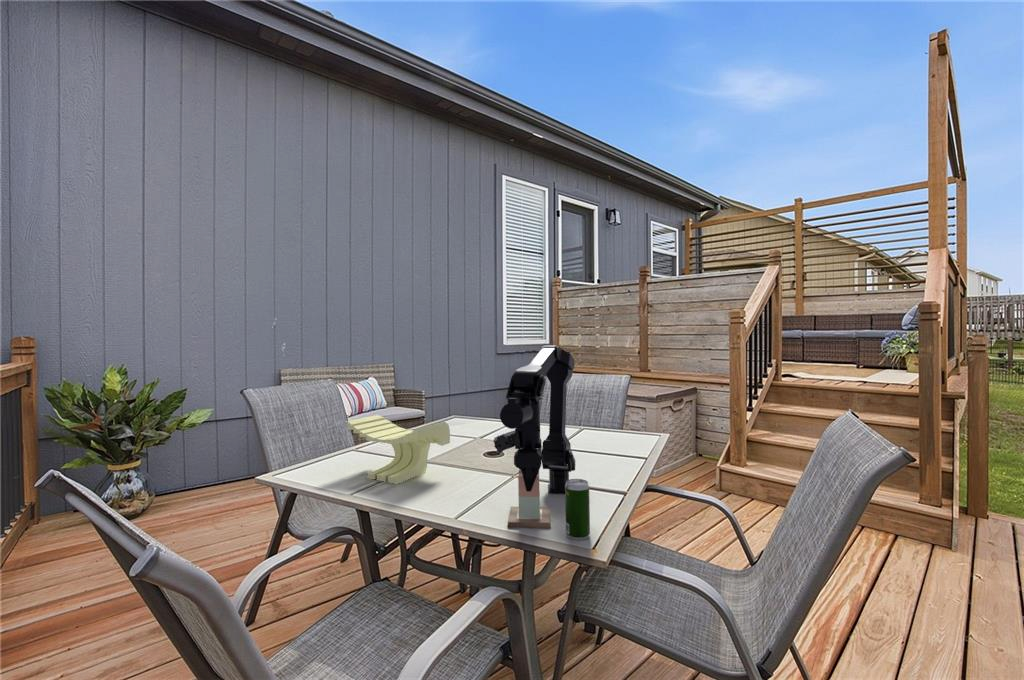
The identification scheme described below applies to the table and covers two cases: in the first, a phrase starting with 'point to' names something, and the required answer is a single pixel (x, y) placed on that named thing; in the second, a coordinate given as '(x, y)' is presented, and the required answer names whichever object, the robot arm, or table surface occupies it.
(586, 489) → the beer can
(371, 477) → the slatted curved stool
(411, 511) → the table surface
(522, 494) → the dusty pink cube
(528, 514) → the brick sage
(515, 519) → the tower base
